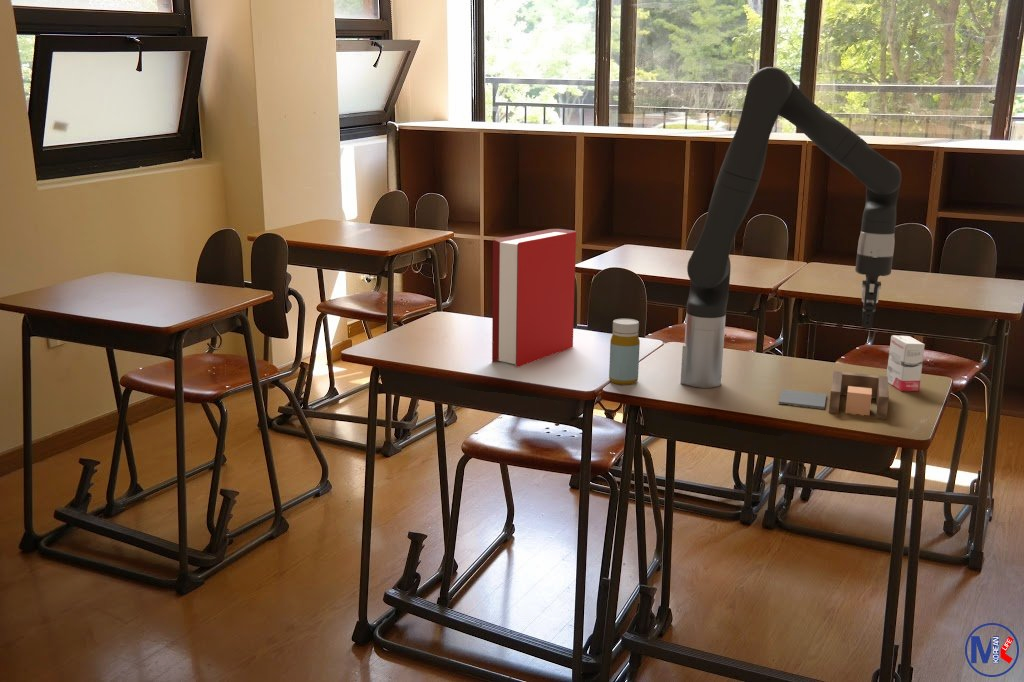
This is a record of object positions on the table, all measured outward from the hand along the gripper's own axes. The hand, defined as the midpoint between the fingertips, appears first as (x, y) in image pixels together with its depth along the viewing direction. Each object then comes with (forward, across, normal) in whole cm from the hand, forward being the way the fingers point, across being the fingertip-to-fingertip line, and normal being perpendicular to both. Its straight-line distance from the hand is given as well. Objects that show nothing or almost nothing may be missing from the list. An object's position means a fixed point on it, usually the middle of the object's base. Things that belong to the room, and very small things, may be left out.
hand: (866, 323), depth 218 cm
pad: (+18, +5, -12) cm, 22 cm away
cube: (+18, +8, 0) cm, 20 cm away
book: (+19, -10, -82) cm, 85 cm away
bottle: (+19, +6, -54) cm, 58 cm away
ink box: (+18, -16, +10) cm, 27 cm away
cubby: (+18, +3, 0) cm, 19 cm away
